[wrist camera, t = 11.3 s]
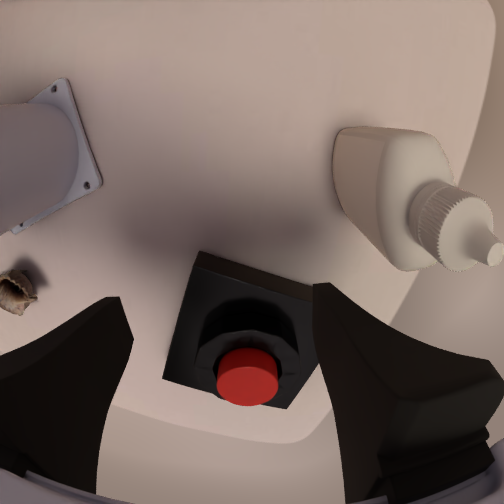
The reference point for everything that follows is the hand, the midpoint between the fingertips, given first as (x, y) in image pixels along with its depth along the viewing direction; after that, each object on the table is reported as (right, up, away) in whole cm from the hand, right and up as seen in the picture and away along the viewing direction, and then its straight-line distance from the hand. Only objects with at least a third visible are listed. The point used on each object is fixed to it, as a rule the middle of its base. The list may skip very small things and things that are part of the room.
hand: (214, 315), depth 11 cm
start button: (+1, -5, +7) cm, 9 cm away
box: (+1, -3, +11) cm, 11 cm away
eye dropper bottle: (+8, +7, +6) cm, 12 cm away
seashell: (-18, 0, +9) cm, 20 cm away
